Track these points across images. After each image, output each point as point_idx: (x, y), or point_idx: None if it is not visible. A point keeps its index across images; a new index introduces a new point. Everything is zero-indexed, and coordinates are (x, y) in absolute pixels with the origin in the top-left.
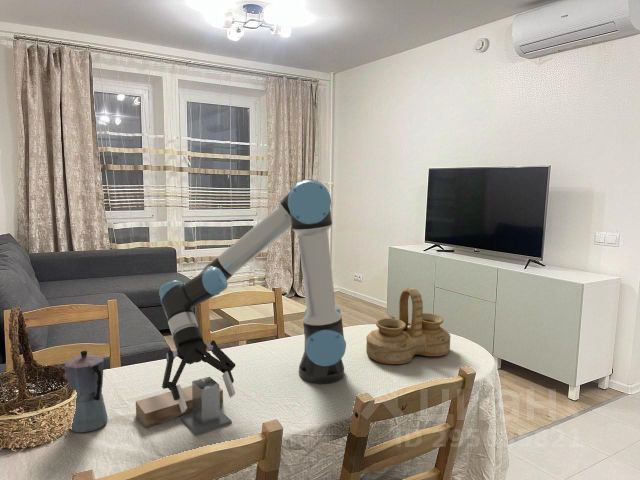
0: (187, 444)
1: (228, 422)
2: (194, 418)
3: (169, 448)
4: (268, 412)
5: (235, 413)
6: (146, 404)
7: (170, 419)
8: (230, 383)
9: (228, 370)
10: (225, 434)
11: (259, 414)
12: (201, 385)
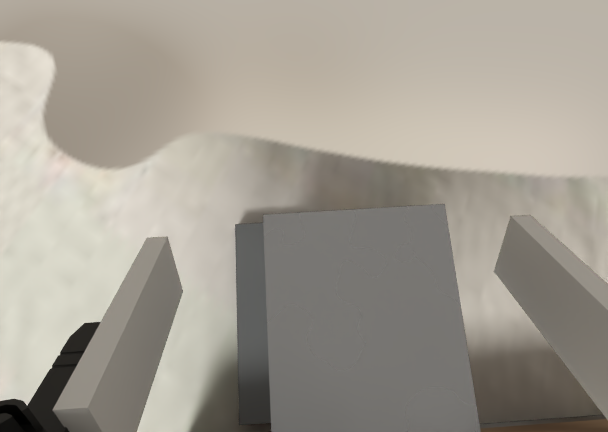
0: (458, 177)
1: (252, 224)
2: None
3: (530, 189)
4: (45, 222)
5: None
6: None
7: (489, 424)
8: (130, 293)
9: (34, 417)
10: (298, 161)
11: (90, 228)
12: (418, 292)
